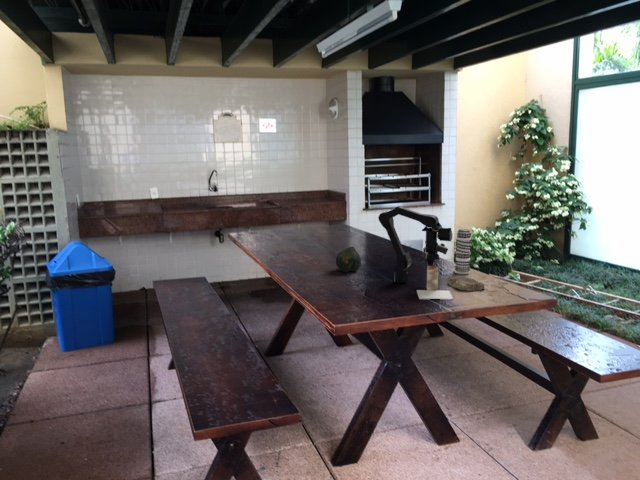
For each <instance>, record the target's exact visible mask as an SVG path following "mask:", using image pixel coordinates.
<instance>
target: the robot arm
mask: <svg viewBox="0 0 640 480" xmlns="http://www.w3.org/2000/svg"><path fill="white" fill-rule="evenodd" d="M397 216H402V217H406V218H408V219H411V220H414V221H417V222H418V223H420V224H422V225H423V226H424V227H423V229H422V230H421V232H425V241H424V243H425V246H424V247H423V249H422V253H423V254H424V255H423V256H424V259H425V261H426V263H427V264H426V265H427V266H434V262H435V261H436V260H440V254H439V253H441V254H443V255H446V254H447V253H448V250H449V248H448V247H447V246H446V245H445V244H444V243H443V242H452V240H453V231H452V227H443V225H441V223H440V221H439V217H438V216H437V215H434V214H426V213H425V214H424V213H420V212H418V211H414V210H411V209H409V208H407V207H404V206H401V205H398V206H396V207H395V208H392V209H391V210H389V211H386V210H385V211H384V212H381V213H380V214H379V215H378V221H379V223H380V225H381V227H383V228H384V229H385V232H386V233H387V235H388V238H389V241H390V243H391V245H392V247H393V251H394V252H395V259H396V260H395V261H396V265H394V266H393V268H392V270H393V272H394V279H393V280H394V284H407V283H408V280H409V279H408V278H409V277H408V276H409V275H408V274H409V273H408V269H409V267H410V266H411V265H412V260H413V258H412V257H411V255H410V252H409V251H408V252H406V251H405V250H404V248H403V246H402V242H401V240H400V237H399V236H398V233H397V230H396V228H395V221H394V218H395V217H397ZM438 240H439V241H440V242H442V243H440V244H439V243H438Z"/></svg>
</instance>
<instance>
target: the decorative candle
mask: <svg viewBox="0 0 640 480" xmlns="http://www.w3.org/2000/svg"><path fill="white" fill-rule="evenodd" d="M471 236H472V231H470V229H469V228H459V229H458V230H457V231H456V239H455V242H454V243H455V253H456V255H455V256H456V257H455V260H454V261H455V263H454V264H455V266H454V272H455V273H456V274H460V275H468V274H470V273H471V253H472V252H471V250H472V248H471V247H473V246H472V245H471V244H473V242H472V241H473V239H472V237H471Z"/></svg>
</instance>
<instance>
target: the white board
mask: <svg viewBox="0 0 640 480" xmlns="http://www.w3.org/2000/svg"><path fill="white" fill-rule="evenodd" d="M416 293H417V297H418V299H419V300H430V299H440V301H441V300H442V301H443V300H444V301H448V300H449V301H454V297H453V295H452V293H451V291H450V290H440V289H438V290H427V289H416Z"/></svg>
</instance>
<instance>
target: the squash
mask: <svg viewBox="0 0 640 480" xmlns="http://www.w3.org/2000/svg"><path fill="white" fill-rule="evenodd" d="M335 265H336V267H337V268H338V270H339V271H340V272H343V273H344V272H346V273H347V272H349V271H351V272H353V271H358V270H359V269H360V268H361V265H362V258H361V255H360V254H359V252H358V251H357V250H356V248H355V247H354V246H349V247H347V248H345V249H343V250H342V251H340V252H339V253H338V254H337V255H336V257H335Z"/></svg>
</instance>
